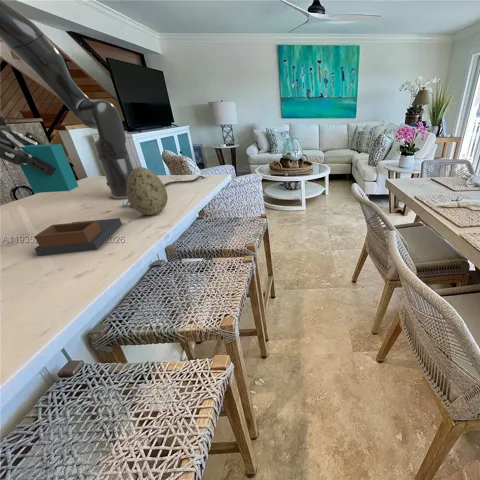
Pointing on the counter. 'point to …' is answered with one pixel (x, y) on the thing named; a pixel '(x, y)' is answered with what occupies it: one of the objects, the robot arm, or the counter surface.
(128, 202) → the dragon figurine
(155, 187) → the decorative egg
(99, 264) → the counter surface
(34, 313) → the counter surface
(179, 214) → the counter surface
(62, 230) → the brown tray on base
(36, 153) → the teal rectangular block
